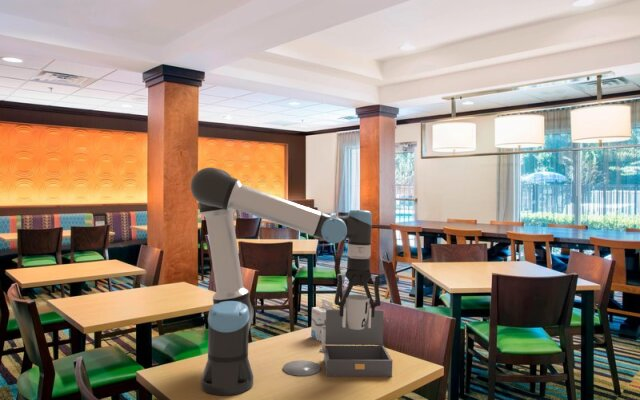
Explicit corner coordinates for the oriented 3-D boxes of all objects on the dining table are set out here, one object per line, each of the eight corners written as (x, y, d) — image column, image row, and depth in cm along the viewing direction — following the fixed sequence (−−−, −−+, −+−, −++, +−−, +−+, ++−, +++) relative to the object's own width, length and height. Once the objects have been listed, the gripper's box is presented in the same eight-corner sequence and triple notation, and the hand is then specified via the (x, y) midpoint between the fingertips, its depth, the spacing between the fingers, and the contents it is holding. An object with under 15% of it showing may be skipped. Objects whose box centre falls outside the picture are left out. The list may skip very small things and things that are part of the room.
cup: (367, 332, 149) (368, 300, 149) (342, 329, 151) (343, 298, 151) (369, 325, 157) (370, 295, 157) (345, 323, 159) (346, 293, 159)
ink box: (310, 336, 187) (311, 299, 187) (321, 335, 190) (322, 298, 190) (321, 342, 180) (322, 304, 180) (332, 341, 182) (333, 303, 182)
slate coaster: (282, 375, 146) (282, 373, 146) (283, 362, 158) (283, 360, 158) (321, 375, 147) (321, 374, 147) (319, 362, 159) (319, 360, 159)
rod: (319, 351, 169) (319, 349, 169) (319, 351, 170) (319, 348, 170) (343, 351, 170) (343, 349, 170) (343, 351, 171) (343, 348, 171)
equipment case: (323, 376, 146) (324, 321, 146) (320, 358, 162) (322, 309, 162) (392, 377, 147) (393, 322, 147) (383, 359, 163) (384, 309, 163)
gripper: (328, 257, 150) (325, 329, 150) (392, 259, 151) (389, 330, 151) (327, 254, 157) (324, 322, 157) (387, 256, 158) (385, 324, 158)
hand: (356, 326), depth 154 cm, fingers closed on cup, 8 cm apart
